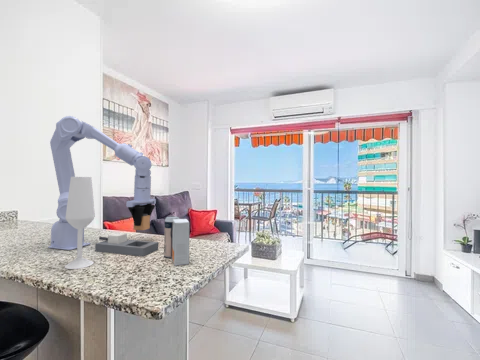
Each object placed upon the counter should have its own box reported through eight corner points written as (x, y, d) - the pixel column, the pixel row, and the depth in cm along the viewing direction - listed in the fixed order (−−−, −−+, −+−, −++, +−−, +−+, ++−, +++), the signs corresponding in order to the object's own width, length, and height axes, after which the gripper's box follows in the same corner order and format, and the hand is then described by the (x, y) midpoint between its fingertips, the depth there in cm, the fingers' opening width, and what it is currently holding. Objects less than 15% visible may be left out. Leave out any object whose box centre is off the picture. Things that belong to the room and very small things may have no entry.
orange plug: (133, 229, 89) (133, 214, 89) (140, 227, 93) (140, 213, 93) (142, 230, 88) (143, 215, 88) (149, 228, 92) (150, 213, 92)
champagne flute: (89, 259, 71) (91, 177, 71) (96, 264, 67) (98, 177, 67) (61, 264, 66) (63, 176, 67) (67, 270, 62) (69, 176, 62)
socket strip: (90, 250, 79) (90, 235, 79) (109, 244, 87) (109, 230, 87) (143, 256, 74) (143, 240, 74) (158, 249, 82) (158, 234, 82)
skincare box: (171, 259, 72) (172, 219, 72) (186, 257, 74) (186, 218, 74) (173, 266, 67) (174, 222, 67) (189, 264, 68) (190, 221, 68)
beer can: (175, 259, 73) (176, 218, 73) (160, 257, 74) (161, 218, 74) (182, 254, 77) (183, 216, 77) (168, 253, 78) (169, 216, 78)
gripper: (139, 189, 83) (138, 228, 83) (162, 188, 97) (161, 222, 97) (121, 188, 85) (120, 227, 84) (147, 187, 99) (146, 221, 99)
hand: (141, 224), depth 91 cm, fingers closed on orange plug, 4 cm apart
